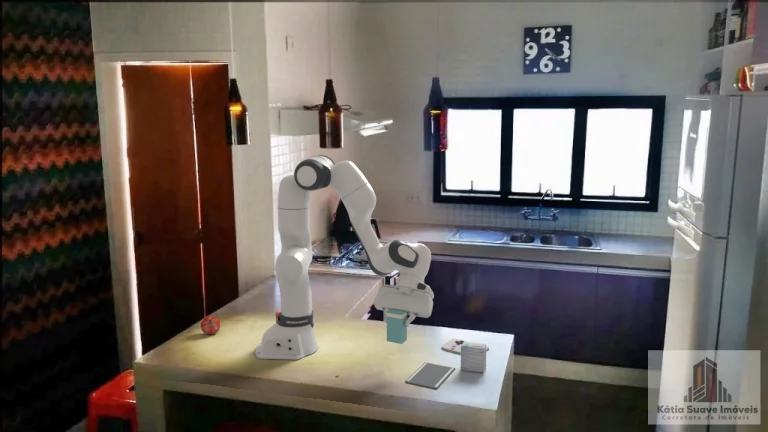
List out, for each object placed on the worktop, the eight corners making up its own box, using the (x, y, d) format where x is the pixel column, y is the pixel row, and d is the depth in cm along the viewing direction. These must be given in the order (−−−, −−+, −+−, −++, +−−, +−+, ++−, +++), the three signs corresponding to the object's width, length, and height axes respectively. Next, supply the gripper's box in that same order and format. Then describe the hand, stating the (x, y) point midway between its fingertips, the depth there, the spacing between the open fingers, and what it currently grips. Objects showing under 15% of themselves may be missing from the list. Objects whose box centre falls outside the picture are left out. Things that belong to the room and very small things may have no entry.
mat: (437, 389, 190) (437, 387, 190) (405, 382, 195) (405, 381, 195) (455, 369, 204) (455, 367, 204) (425, 363, 209) (425, 362, 209)
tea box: (401, 344, 199) (401, 315, 197) (386, 341, 202) (386, 312, 200) (407, 339, 203) (407, 311, 201) (392, 337, 205) (392, 308, 203)
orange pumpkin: (200, 337, 241) (197, 330, 233) (203, 319, 245) (200, 311, 236) (220, 338, 242) (216, 331, 233) (222, 320, 246) (219, 312, 237)
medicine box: (486, 368, 204) (486, 343, 203) (484, 373, 200) (484, 348, 199) (463, 365, 207) (463, 341, 205) (460, 370, 203) (460, 346, 201)
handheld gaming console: (453, 337, 228) (489, 346, 220) (453, 341, 229) (489, 350, 220) (439, 346, 221) (476, 355, 212) (439, 350, 221) (476, 359, 212)
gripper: (378, 279, 210) (365, 314, 203) (433, 287, 200) (421, 325, 194) (384, 288, 214) (371, 323, 208) (438, 296, 205) (426, 333, 198)
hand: (396, 324), depth 201 cm, fingers closed on tea box, 5 cm apart
